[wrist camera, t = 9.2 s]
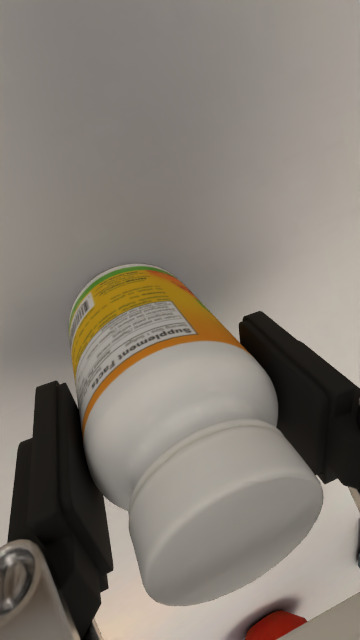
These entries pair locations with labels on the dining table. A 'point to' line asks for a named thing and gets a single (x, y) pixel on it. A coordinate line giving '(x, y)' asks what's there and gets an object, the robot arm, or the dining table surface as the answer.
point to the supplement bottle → (184, 437)
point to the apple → (275, 626)
